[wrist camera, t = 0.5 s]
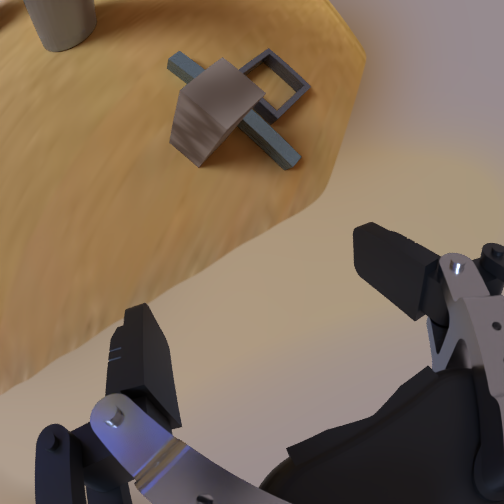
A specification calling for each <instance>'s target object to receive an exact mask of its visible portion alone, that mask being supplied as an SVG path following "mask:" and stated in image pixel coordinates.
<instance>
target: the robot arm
mask: <svg viewBox="0 0 504 504" xmlns="http://www.w3.org/2000/svg"><path fill="white" fill-rule="evenodd" d="M23 1H24V4H25V6H26V8H27V11H28V13H29V15H30V18H31V20H32V22H33V24H34V27H35V29H36V31H37V33H38V36H39V38H40V40H41V42H42V44H43V46H44V47H45V49H46V50H48V51H52V52H59V51H63V50H66V49H69V48H71V47H73V46H76V45H77V44H79V43H80V42H82V41H83V40H84V39H86V38H87V37H88V36H89V35H90V34H91V33H92V31H93V30H94V28H95V26H96V22H97V20H96V13H95V6H94V0H23ZM353 248H354V266H355V269H356V271H357V273H358V275H359V276H360V277H361V278H362V279H364V280H365V281H366V282H368V283H369V284H370V285H371V286H372V287H374V288H375V289H377V291H379V292H380V293H381V294H382V295H384V296H385V297H386V298H387V299H389V300H390V301H391V302H392V303H394V304H395V305H396V306H397V307H398V308H399V309H401V310H402V311H403V312H404V313H406V314H407V315H408V316H409V317H410V318H411V319H413V320H414V321H417V320H418V319H419V318H421V317H422V316H424V315H425V314H426V315H427V316H428V318H427V329H428V334H429V341H430V348H431V354H432V369H431V368H430V367H429V366H427V367H426V368H424V369H423V370H422V371H420V372H419V373H418V374H416V375H415V376H414V377H412V378H411V379H409V380H408V381H407V382H405V383H404V384H403V385H401V386H400V387H399V388H398V390H397V391H396V392H395V393H394V394H393V395H392V396H391V397H390V398H389V400H388V401H387V402H386V403H385V404H384V405H383V406H382V407H381V408H380V409H379V410H378V411H377V412H376V413H375V414H374V415H373V416H371V417H368V418H365V419H362V420H359V421H356V422H353V423H349V424H346V425H343V426H339V427H336V428H332V429H328V430H326V431H324V432H321V433H319V434H317V435H315V436H313V437H311V438H309V439H307V440H304V441H302V442H300V443H298V444H295V445H293V446H290V447H288V448H286V449H287V452H288V454H289V457H288V458H287V459H286V460H284V461H283V462H281V463H280V464H279V465H278V466H277V467H276V468H274V469H273V470H272V471H271V472H270V473H269V475H268V476H267V477H266V478H265V479H264V481H263V482H262V483H261V485H260V486H259V488H257V487H255V486H253V485H251V484H250V483H248V482H246V481H244V480H242V479H240V478H239V477H237V476H235V475H233V474H232V473H230V472H228V471H227V470H225V469H223V468H222V467H220V466H219V465H217V464H215V463H214V462H212V461H210V460H209V459H208V458H206V457H205V456H203V455H202V454H200V453H198V452H197V451H196V450H194V449H193V448H191V447H190V446H188V445H187V444H186V443H184V442H182V441H181V440H180V439H177V438H176V437H174V436H173V435H172V429H175V428H179V427H182V424H181V419H180V413H179V408H178V402H177V396H176V390H175V384H174V378H173V371H172V364H171V356H170V350H169V346H168V343H167V340H166V338H165V336H164V334H163V332H162V330H161V329H160V327H159V325H158V323H157V321H156V320H155V318H154V316H153V314H152V312H151V310H150V308H149V306H148V305H147V304H146V303H143V304H140V305H137V306H134V307H131V308H128V309H126V310H125V316H124V325H123V326H120V327H117V329H116V331H115V333H114V334H113V336H112V338H111V342H110V353H109V359H108V360H109V362H108V368H107V380H106V394H105V397H104V398H102V399H101V400H100V401H98V402H97V404H96V405H95V406H94V408H93V410H92V413H91V416H90V422H88V423H87V424H85V425H83V426H81V427H79V428H77V429H75V430H73V431H71V432H70V431H68V430H67V429H66V428H65V427H63V426H62V425H59V424H52V425H49V426H47V427H46V428H44V429H43V430H42V432H41V433H40V435H39V437H38V439H37V443H36V457H35V458H36V459H35V499H36V504H86V496H85V488H84V485H85V486H86V491H87V499H88V504H132V500H131V496H130V491H129V486H128V482H129V481H131V480H134V479H135V480H136V482H135V486H136V488H137V489H138V490H139V491H140V492H141V494H143V496H144V497H146V498H147V499H148V500H149V501H150V502H151V503H152V504H504V296H503V295H501V293H502V290H503V287H504V246H502V245H499V244H495V243H487V244H485V245H484V246H483V248H482V253H481V257H480V258H478V259H474V260H471V259H470V258H468V257H467V256H465V255H462V254H458V253H448V254H445V255H443V256H442V257H441V256H439V255H437V254H435V253H434V252H432V251H430V250H428V249H427V248H425V247H423V246H421V245H419V244H418V243H415V242H414V241H412V240H410V239H407V237H405V236H403V235H401V234H399V233H397V232H393V231H389V230H387V229H385V228H383V227H381V226H379V225H377V224H375V223H373V222H369V223H367V224H364V225H362V226H359V227H357V228H355V229H354V231H353Z"/></svg>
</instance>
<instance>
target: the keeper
mask: <svg viewBox="0 0 504 504" xmlns="http://www.w3.org/2000/svg"><path fill="white" fill-rule="evenodd" d="M262 62H264V63H265V64H266V65H267V66H268V67H270V68H271V69H272V70H273V71H274V72H275V73H276V74H277V75H279V76H280V77H281V78H282V79H283V80H284V81H285V82H286V83H287V84H288V85H290V86H291V87H292V88H293V89H294V90H295V91H296V93H295V94H294V95H293V96H292V97H291V98H290V99H289V100H288V101H286V102H285V103H284V104H283V105H282V106H281V107H280V108H279V109H278V110H277V111H276V110H275V109H274V108H273V107H272V106H271V105H270V104H269V103H268V102H267V101H266V100H264V99H263V98H261V99H260V101H259V102H258V103H257V104H256V105H255V106H254V107H253V109H254V110H255V111H256V112H257V113H258V114H259V115H260V116H262V117H263V118H264V119H265V120H266V121H267V122H268V123H269V124H270V125H271V124H272V123H273V122H275V121H276V120H277V119H278V118H279V117H280V116H281V115H282V114H283V113H284V112H285V111H286V110H287V109H288V108H289V107H290V106H292V105H293V104H294V103H295V102H296V101H297V100H298V99H299V98H300V97H301V96H302V95H303V94H304V93H305V92H306V91H307V90H308V89H309V88H310V87H311V86H310V85H309V84H308V83H307V82H306V81H305V80H304V79H303V78H302V77H301V76H300V75H298V74H297V73H296V72H295V71H294V70H293V69H292V68H291V67H290V66H289V65H288V64H286V63H285V62H284V61H283V60H282V59H281V58H280V57H278V56H277V55H276V54H275V53H274V52H273V51H271V50H270V49H269V48H268V49H267V50H265V51H264V52H263V53H261V54H260V55H258V56H257V57H255V58H254V59H253V60H251V61H250V62H248V63H247V64H246V65H244V66H243V67H242V68H240V69H239V71H240V72H242V73H243V74H244V75H247V74H248V73H249V72H250V71H252V70H253V69H254V68H256V67H257V66H258V65H260V64H261V63H262ZM167 69H168V70H170V71H171V72H172V73H174V74H175V75H176V76H178V77H179V78H180V79H181V80H183V81H184V82H185V83H187V84H188V83H189V82H191V81H192V80H193V79H194V78H196V77H197V76H198V75H199V74H201V73H202V72H203V71H205V70H204V69H203V68H202V67H201V66H199V65H198V64H197V63H195V62H194V61H193V60H191V59H190V58H189V57H187V56H186V55H185V54H183V53H182V52H180V51H179V52H177V53H176V54H174V55H173V56H172V57H170V58H169V59H168V65H167ZM257 113H255V112H254V111H253V110H252V109H251V110H250V112H249V113H248V114H247V115H246V116H245V117H244V118H243V119H242V121H241V122H240V123H239V124H238V125H237V126H238V127H239V128H240V129H241V130H242V131H243V132H244V133H245V134H247V135H248V136H249V137H250V138H251V139H252V140H253V141H254V142H255V143H256V144H257V145H259V146H260V147H261V148H262V149H263V150H264V151H265V152H266V153H267V154H268V155H269V156H270V157H271V158H272V159H273V160H274V161H275V162H276V163H277V164H278V165H279V166H280V167H281V168H283V169H284V170H287V169H289V168H292V167H293V166H294V165H295V164H296V163H297V162H298V160H299V159H300V158H301V156H300V155H299V154H298V153H297V152H296V151H295V150H294V149H293V148H292V147H291V146H290V145H289V144H288V143H287V142H286V141H285V140H284V139H283V138H282V137H281V136H280V135H279V134H278V133H277V132H276V131H275V130H274V129H273V128H272V127H271V126H270V125H268V124H267V123H266V122H265V121H264V120H263V119H262V118H261V117H260V116H259V115H258V114H257Z"/></svg>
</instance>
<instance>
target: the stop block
mask: <svg viewBox="0 0 504 504" xmlns="http://www.w3.org/2000/svg"><path fill="white" fill-rule="evenodd" d="M265 94H266V93H265V92H264V91H263V90H261V89H260V88H259V87H258V86H257V85H256V84H255V83H253V82H252V81H251V80H250V79H249V78H248V77H246V76H245V75H244V74H243V73H242V72H240V71H239V70H238V69H237V68H235V67H234V66H233V65H232V64H231V63H229V62H228V61H227V60H225V59H224V58H223V57H222V58H221V59H220V60H218V61H217V62H215V63H214V64H213V65H211V66H210V67H209V68H207V69H206V70H205V71H203V72H202V73H201V74H199V75H198V76H197V77H196V78H194V79H193V80H192V81H191V82H189V83H188V84H187V85H186V86H185V87H183V88H182V89H181V90H180V93H179V97H178V102H177V106H176V111H175V115H174V120H173V125H172V131H171V136H170V141H169V143H170V144H172V145H173V146H174V147H175V148H176V149H178V150H179V151H180V152H181V153H182V154H183V155H185V156H186V157H187V158H188V159H189V160H190V161H191V162H193V163H194V164H195V165H196V166H197V167H198V168H199V167H200V166H201V165H202V164H203V162H204V161H205V160H206V159H207V158H208V157H209V156H210V155H211V154H212V153H213V152H214V151H215V150H216V149H217V148H218V147H219V146H220V145H221V143H222V142H223V141H224V140H225V139H226V138H227V137H228V136H229V134H230V133H231V132H232V131H233V130H234V129H235V127H236V126H237V125H238V124H239V123H240V122H241V121H242V119H243V118H244V117H245V116H246V115H247V114H248V113H249V112H250V110H251V109H252V108H253V107H254V106H255V105H256V104H257V103H258V102H259V101H260V99H261V98H262V97H263V96H264V95H265Z"/></svg>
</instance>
